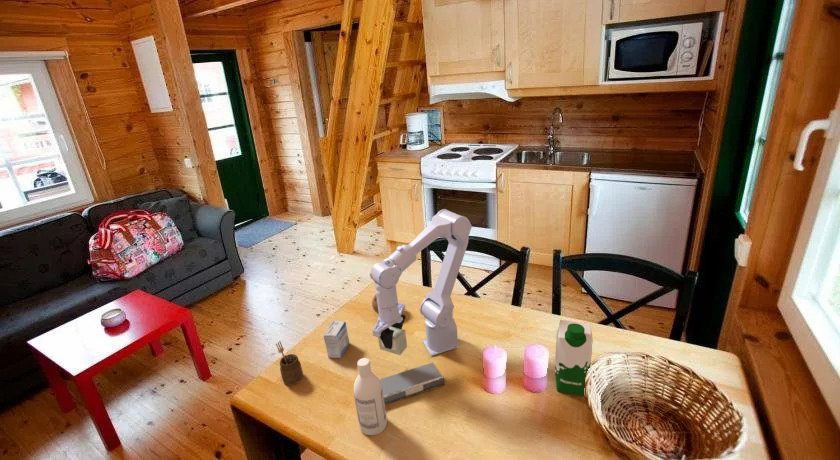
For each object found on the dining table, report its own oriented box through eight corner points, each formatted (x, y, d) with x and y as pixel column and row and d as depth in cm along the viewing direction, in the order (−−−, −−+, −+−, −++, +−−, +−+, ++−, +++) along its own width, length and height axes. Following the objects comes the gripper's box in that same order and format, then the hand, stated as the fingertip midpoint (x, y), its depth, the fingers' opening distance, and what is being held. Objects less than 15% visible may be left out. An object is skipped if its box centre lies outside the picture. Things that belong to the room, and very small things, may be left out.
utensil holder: (292, 388, 117) (284, 354, 112) (278, 381, 120) (269, 348, 115) (307, 375, 121) (300, 342, 117) (293, 368, 124) (285, 336, 120)
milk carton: (553, 393, 107) (557, 331, 100) (554, 370, 115) (557, 311, 108) (588, 400, 105) (595, 336, 97) (587, 375, 112) (593, 315, 105)
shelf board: (432, 364, 121) (432, 357, 120) (445, 384, 113) (444, 377, 112) (368, 385, 115) (367, 378, 115) (376, 408, 107) (375, 401, 106)
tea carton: (387, 341, 122) (384, 324, 120) (407, 347, 119) (405, 330, 117) (379, 349, 119) (377, 332, 117) (399, 355, 116) (397, 338, 113)
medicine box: (340, 358, 127) (336, 336, 124) (327, 357, 128) (323, 335, 125) (349, 342, 134) (345, 321, 131) (337, 342, 135) (333, 320, 132)
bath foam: (373, 409, 107) (364, 348, 100) (392, 422, 103) (384, 359, 95) (354, 427, 102) (342, 364, 95) (373, 441, 98) (362, 376, 90)
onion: (382, 325, 147) (372, 310, 140) (374, 307, 154) (364, 292, 147) (405, 311, 148) (395, 296, 141) (396, 294, 155) (386, 279, 148)
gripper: (386, 320, 105) (391, 362, 111) (412, 293, 117) (416, 331, 122) (363, 314, 109) (370, 355, 114) (391, 288, 120) (396, 326, 126)
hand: (392, 342), depth 118 cm, fingers closed on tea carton, 4 cm apart
